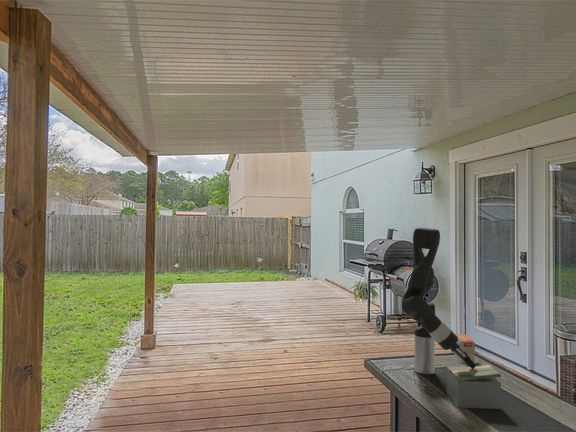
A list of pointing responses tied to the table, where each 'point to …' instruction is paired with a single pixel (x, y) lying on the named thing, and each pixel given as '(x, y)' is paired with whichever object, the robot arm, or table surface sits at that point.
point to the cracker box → (465, 348)
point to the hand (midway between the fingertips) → (474, 366)
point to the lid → (473, 371)
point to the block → (474, 392)
